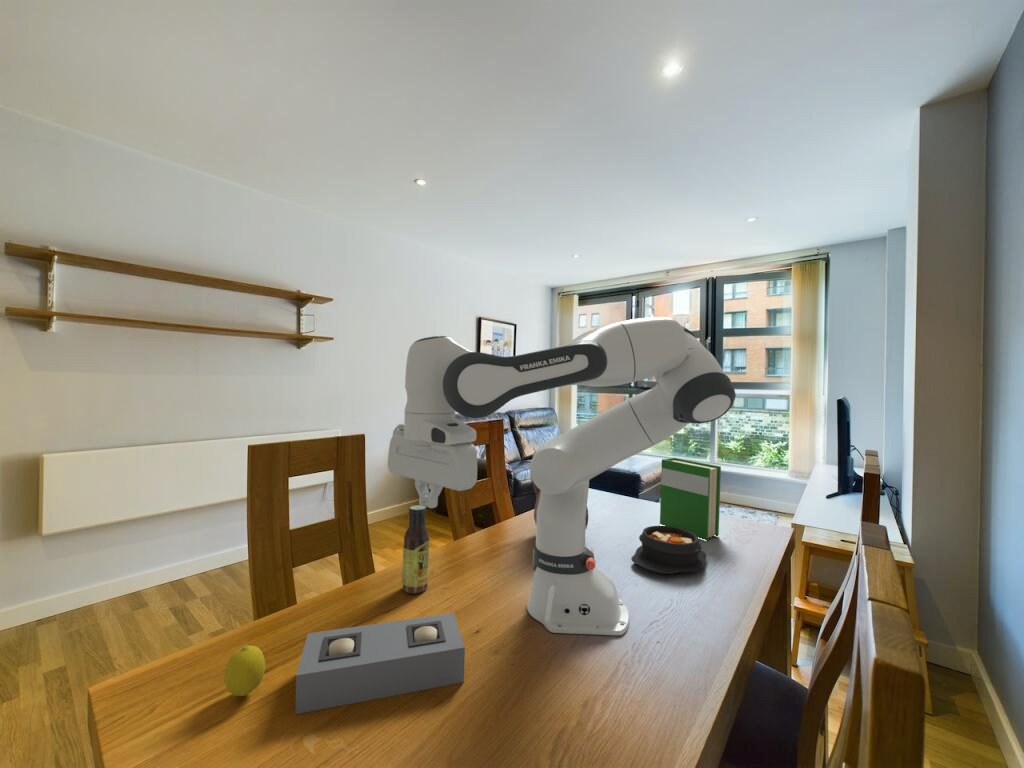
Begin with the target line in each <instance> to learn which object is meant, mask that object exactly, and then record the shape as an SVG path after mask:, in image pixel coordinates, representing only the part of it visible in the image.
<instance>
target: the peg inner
mask: <svg viewBox="0 0 1024 768" xmlns="http://www.w3.org/2000/svg"><path fill="white" fill-rule="evenodd" d="M433 639H437V630H436V628H434V627H432V626H423V627H420V628H418V629H417V630H416V631H415V632H414V642H420V641H426V640H433Z"/></svg>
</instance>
